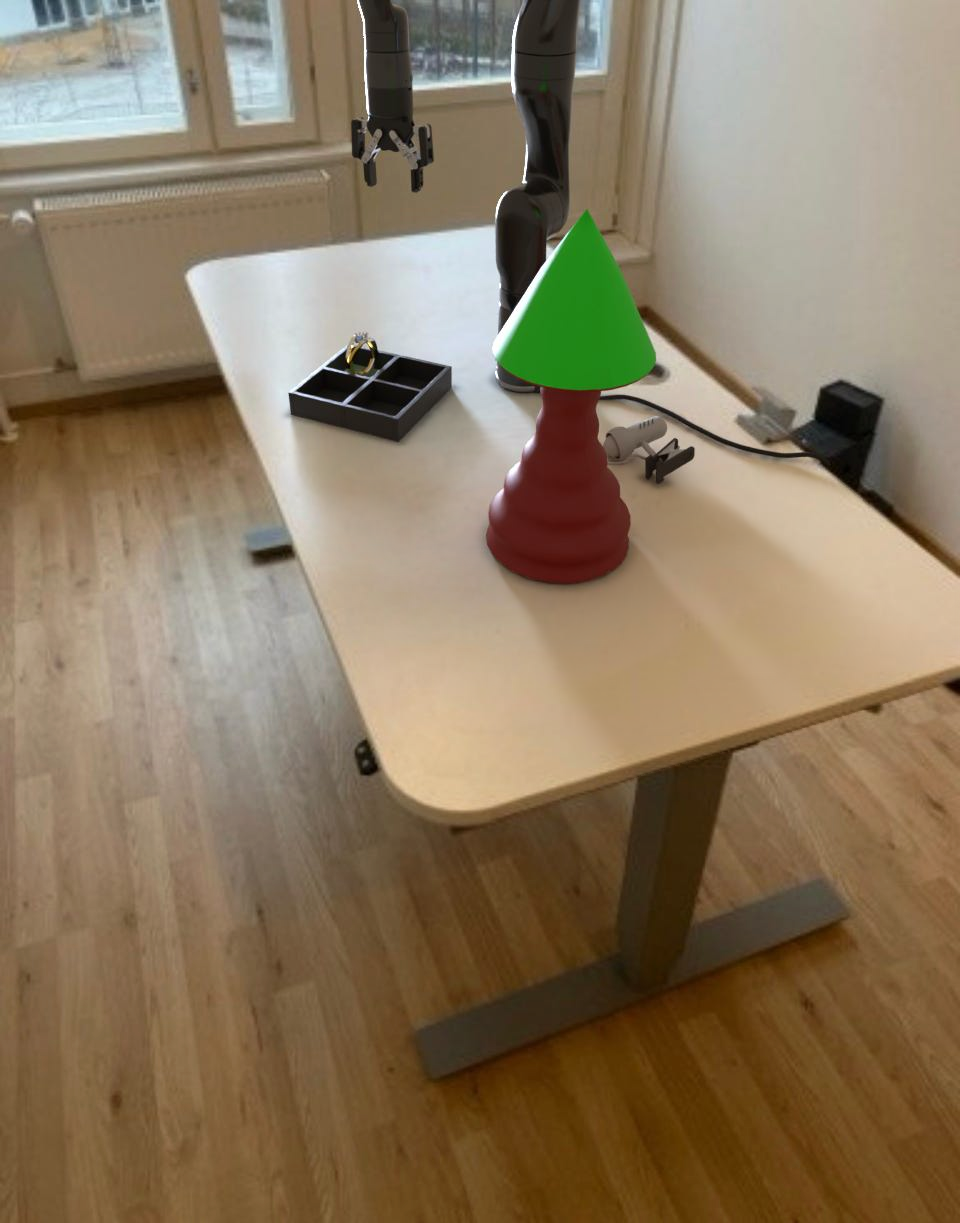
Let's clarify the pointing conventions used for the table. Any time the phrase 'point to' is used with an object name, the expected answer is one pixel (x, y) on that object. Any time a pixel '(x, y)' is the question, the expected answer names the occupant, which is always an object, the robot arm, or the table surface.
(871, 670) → the table surface
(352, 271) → the table surface
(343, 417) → the organizer
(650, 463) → the clip-on lamp
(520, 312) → the table lamp
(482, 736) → the table surface
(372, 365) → the ring
